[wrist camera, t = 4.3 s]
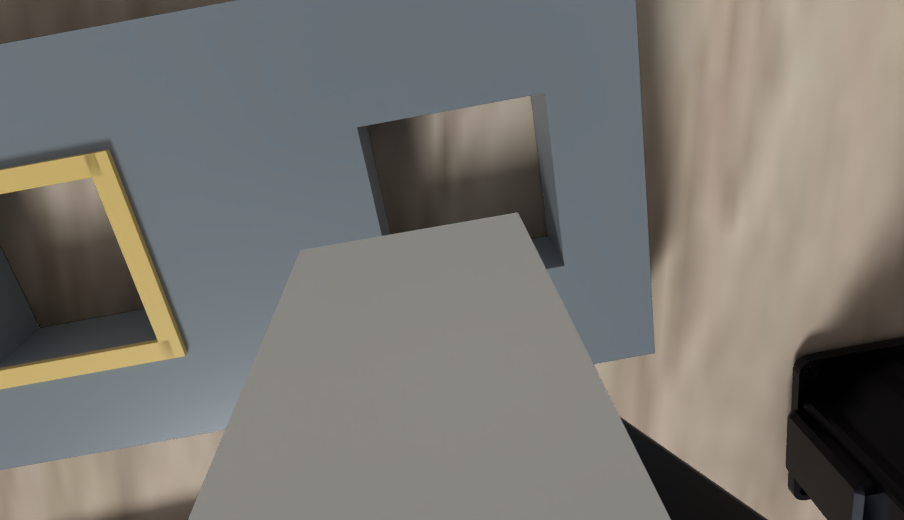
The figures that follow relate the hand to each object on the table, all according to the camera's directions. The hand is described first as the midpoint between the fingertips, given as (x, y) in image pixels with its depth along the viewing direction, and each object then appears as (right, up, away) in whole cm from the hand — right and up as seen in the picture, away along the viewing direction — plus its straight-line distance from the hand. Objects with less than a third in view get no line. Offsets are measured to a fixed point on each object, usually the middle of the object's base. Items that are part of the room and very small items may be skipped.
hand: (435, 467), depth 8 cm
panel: (-5, +4, +12) cm, 14 cm away
